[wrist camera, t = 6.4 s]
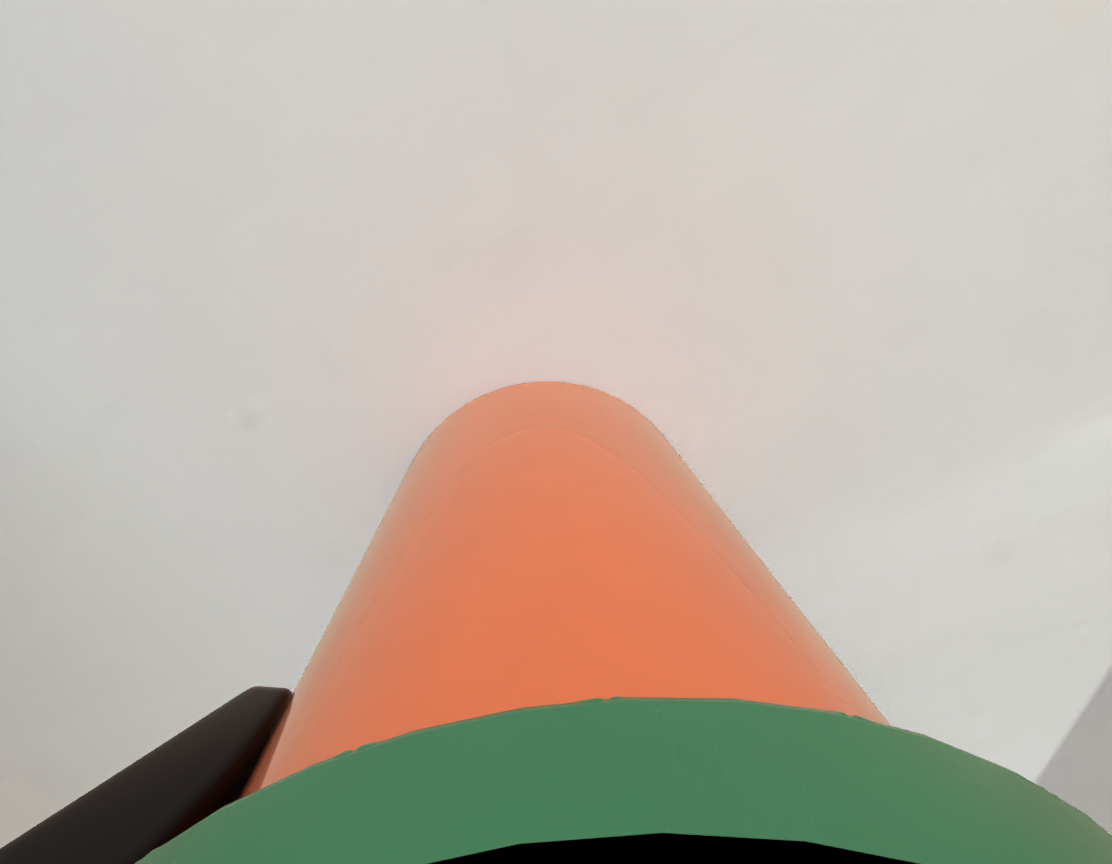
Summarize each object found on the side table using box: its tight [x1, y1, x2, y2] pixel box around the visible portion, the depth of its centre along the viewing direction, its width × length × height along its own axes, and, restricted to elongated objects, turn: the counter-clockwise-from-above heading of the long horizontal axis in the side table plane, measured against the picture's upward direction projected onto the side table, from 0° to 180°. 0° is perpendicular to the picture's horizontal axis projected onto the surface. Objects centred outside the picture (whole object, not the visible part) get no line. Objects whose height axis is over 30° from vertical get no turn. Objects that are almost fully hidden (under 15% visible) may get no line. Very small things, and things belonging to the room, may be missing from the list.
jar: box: [239, 382, 891, 799], centre depth 8 cm, size 6×6×11 cm
